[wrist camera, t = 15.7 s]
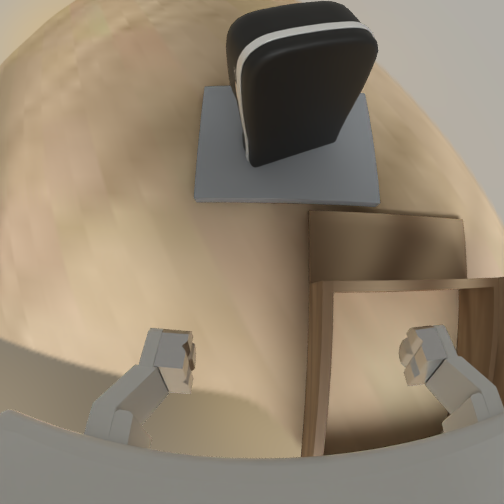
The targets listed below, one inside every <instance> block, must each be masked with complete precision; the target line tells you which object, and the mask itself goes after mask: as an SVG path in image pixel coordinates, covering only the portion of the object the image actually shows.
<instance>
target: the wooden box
mask: <svg viewBox="0 0 504 504" xmlns="http://www.w3.org/2000/svg"><path fill="white" fill-rule="evenodd" d="M452 289H459V324H458V341H457V355H458V356H461V357H463V358H464V359H465V360H466V361H467V362H468V363H470V364H471V365H472V366H473V367H474V368H475V369H477V370H478V371H479V372H480V373H481V374H482V375H483V376H485V377H486V378H487V379H488V380H489V381H490V382H491V383H493V384H494V385H495V386H496V388H497V391H498V393H499V396H500V399H501V401H502V404H503V407H504V277H499V278H474V279H467V265H466V248H465V235H464V225H463V219H451V218H439V217H426V216H412V215H397V214H380V213H361V212H340V211H313V210H309V325H308V355H307V377H306V395H305V411H304V425H303V438H302V450H301V457H312V456H323V454H324V445H325V436H326V426H327V416H328V404H329V391H330V376H331V359H332V335H333V293H349V292H400V291H429V290H452ZM449 415H451V414H450V413H448V416H449Z"/></svg>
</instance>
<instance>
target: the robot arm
mask: <svg viewBox="0 0 504 504" xmlns="http://www.w3.org/2000/svg"><path fill="white" fill-rule="evenodd" d="M192 341H193V335H192V331H181V330H169V329H159V328H150V330H149V331H148V334H147V337H146V341H145V344H144V348H143V351H142V355H141V358H140V362H139V365H134V366H133V367H132V368H131V369H130V370H129V371H127V372H126V373H125V374H124V375H123V376H122V377H121V378H120V379H119V380H118V381H116V382H115V383H114V384H113V385H112V386H111V387H110V388H109V389H108V390H107V391H105V392H104V393H103V394H102V395H101V396H100V397H99V398H98V399H97V400H95V401H94V402H93V404H92V407H91V411H90V414H89V418H88V421H87V425H86V428H85V432H84V434H81V433H78V432H75V431H71V430H68V429H65V428H62V427H58V426H55V425H52V424H49V423H47V422H44V421H41V420H38V419H35V418H33V417H30V416H28V415H25V414H23V413H20V412H18V411H15V410H11V409H9V410H5V411H3V412H2V413H0V504H504V407H503V404H502V401H501V399H500V396H499V393H498V391H497V388H496V386H495V385H494V384H493V383H491V382H490V381H489V380H488V379H487V378H486V377H485V376H483V375H482V374H481V373H480V372H479V371H478V370H477V369H475V368H474V367H473V366H472V365H471V364H470V363H468V362H467V361H466V360H465V359H464V358H463V357H461V356H458V355H457V352H456V350H455V348H454V345H453V343H452V341H451V339H450V336H449V334H448V332H447V330H446V328H445V326H444V325H435V326H423V327H414V328H410V329H409V330H408V332H407V338H406V339H404V340H403V341H402V343H401V345H400V348H399V358H400V362H401V364H402V365H404V366H405V367H406V368H405V370H404V375H405V378H406V382H407V385H408V386H413V385H420V384H425V385H426V387H427V388H428V389H429V390H430V391H431V392H432V393H433V395H434V396H435V397H436V398H437V399H438V400H439V402H440V403H441V404H442V405H443V406H444V407H445V409H446V410H447V411H448V412H449V413H450V414H451V415H449V416H448V417H447V418H446V419H445V420H444V421H443V422H442V426H443V430H444V433H443V434H439V435H436V436H432V437H428V438H424V439H420V440H416V441H412V442H408V443H403V444H398V445H393V446H388V447H383V448H377V449H371V450H365V451H358V452H351V453H343V454H334V455H324V456H312V457H298V458H297V457H296V458H230V457H213V456H201V455H191V454H181V453H173V452H166V451H160V450H153V449H150V448H151V442H152V437H151V436H150V435H149V434H148V432H147V431H146V430H145V429H144V428H143V427H142V425H143V424H144V422H145V421H146V420H147V419H148V418H149V417H150V415H151V414H152V413H153V412H154V411H155V410H156V408H157V407H158V406H159V405H160V404H161V402H162V401H163V400H164V399H165V398H166V396H167V395H168V394H169V392H172V393H187V394H191V391H192V384H193V375H192V372H191V371H192V370H194V369H195V363H196V348H195V344H194V343H192Z"/></svg>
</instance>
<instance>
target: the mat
mask: <svg viewBox="0 0 504 504" xmlns="http://www.w3.org/2000/svg"><path fill="white" fill-rule="evenodd" d="M242 133H243V131H242V124H241V120H240V115H239V110H238V105H237V100H236V98H235V96H234V94H233V92H232V89H231V86H208V87H205V89H204V97H203V105H202V114H201V123H200V133H199V143H198V153H197V164H196V176H195V189H194V199H195V201H196V202H260V203H302V204H329V205H351V206H369V207H376V206H377V205H379V204H380V194H379V184H378V175H377V166H376V158H375V151H374V144H373V137H372V131H371V124H370V119H369V113H368V107H367V102H366V97H365V94H364V93H360V95H359V96H358V98H357V100H356V102H355V104H354V106H353V108H352V109H351V111H350V113H349V115H348V116H347V118H346V120H345V122H344V124H343V126H342V128H341V130H340V133H339V135H338V137H337V140H336V141H335V142H334V143H331V144H328V145H325V146H322V147H319V148H315V149H312V150H309V151H306V152H303V153H300V154H297V155H293V156H290V157H287V158H284V159H281V160H278V161H275V162H272V163H269V164H266V165H263V166H260V167H256V168H255V167H253V166H252V165H251V164H250V162H249V161H248V160H247V158H246V152H245V150H244V147H243V141H242Z"/></svg>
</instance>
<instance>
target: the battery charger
mask: <svg viewBox="0 0 504 504" xmlns="http://www.w3.org/2000/svg"><path fill="white" fill-rule="evenodd" d="M226 52H227V65H228V74H229V80H230V85H231V89H232V92H233V94H234V96H235V98H236V100H237V105H238V110H239V115H240V120H241V124H242V131H243V133H242V141H243V147H244V150H245V152H246V158H247V160H248V161H249V162H250V164H251V165H252V166H253V167H255V168H256V167H260V166H263V165H266V164H269V163H272V162H275V161H278V160H281V159H284V158H287V157H290V156H293V155H297V154H300V153H303V152H306V151H309V150H312V149H315V148H319V147H322V146H325V145H328V144H331V143H334V142H335V141H336V140H337V137H338V135H339V133H340V130H341V128H342V126H343V124H344V122H345V120H346V118H347V116H348V115H349V113H350V111H351V109H352V108H353V106H354V104H355V102H356V100H357V98H358V96H359V95H360V93H361V91H362V89H363V87H364V85H365V83H366V80H367V78H368V76H369V74H370V72H371V69H372V67H373V65H374V62H375V60H376V57H377V53H378V45H377V41H376V40H375V38H374V35H373V33H372V32H371V30H370V29H369V28H368V27H367V26H366V25H364V24H362V23H361V22H360V21H359V20H358V19H357V18H356V17H355V16H354V15H353V13H352V12H351V11H350V10H349V9H348V8H346V7H345V6H344V5H342V4H339V3H336V2H332V1H318V2H306V3H296V4H289V5H283V6H277V7H272V8H267V9H262V10H257V11H254V12H251V13H247V14H245V15H243V16H241V17H240V18H238V19H237V20H236V21H235V22H234V23H233V24H232V25H231V27H230V29H229V31H228V34H227V42H226Z"/></svg>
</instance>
